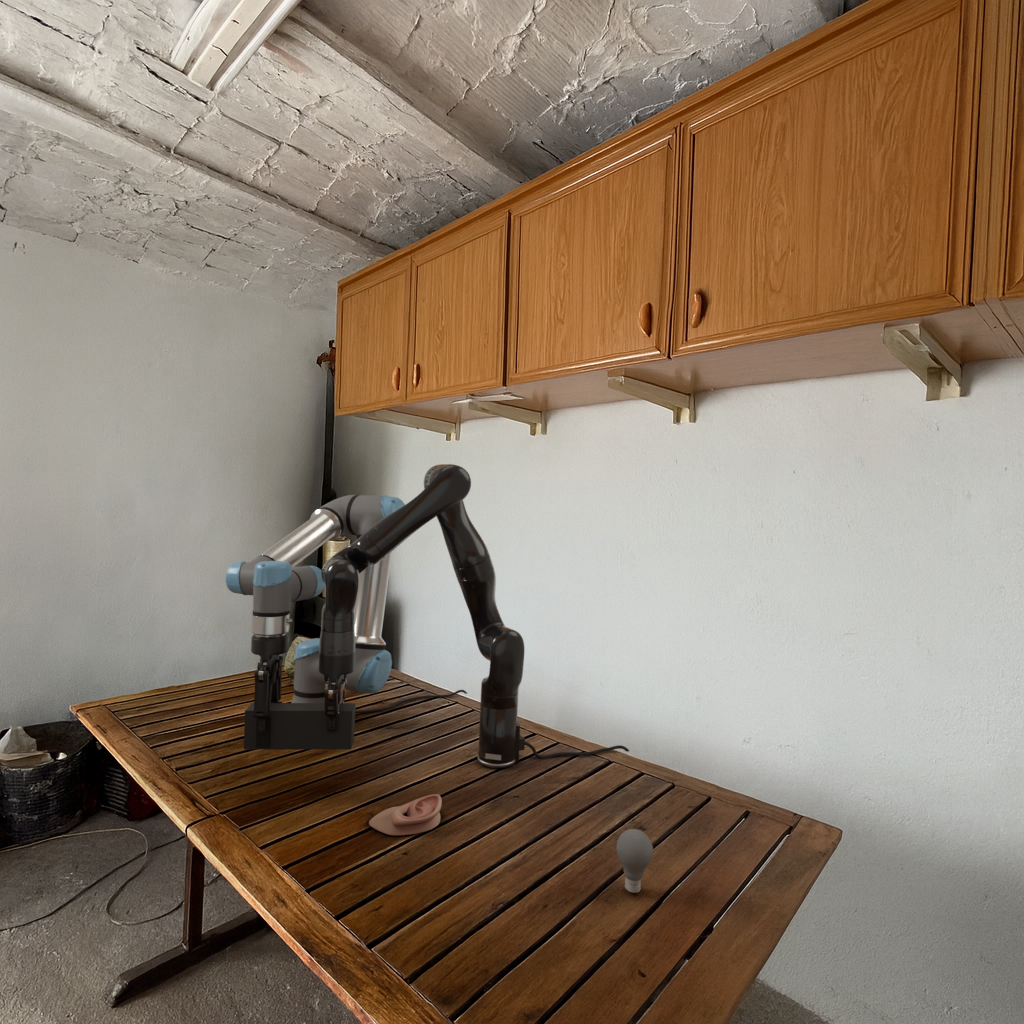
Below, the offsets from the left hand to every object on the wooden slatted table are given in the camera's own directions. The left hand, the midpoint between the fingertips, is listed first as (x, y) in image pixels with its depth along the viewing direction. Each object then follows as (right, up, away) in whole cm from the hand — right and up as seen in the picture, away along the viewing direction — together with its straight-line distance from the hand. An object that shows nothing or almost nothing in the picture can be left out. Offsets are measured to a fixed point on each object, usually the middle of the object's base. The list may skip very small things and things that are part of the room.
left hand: (266, 741), depth 136 cm
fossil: (-15, -8, +79) cm, 81 cm away
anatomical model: (+32, -12, -11) cm, 36 cm away
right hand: (+14, +2, +2) cm, 14 cm away
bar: (+7, -1, +1) cm, 7 cm away
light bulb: (+73, -14, -30) cm, 80 cm away
